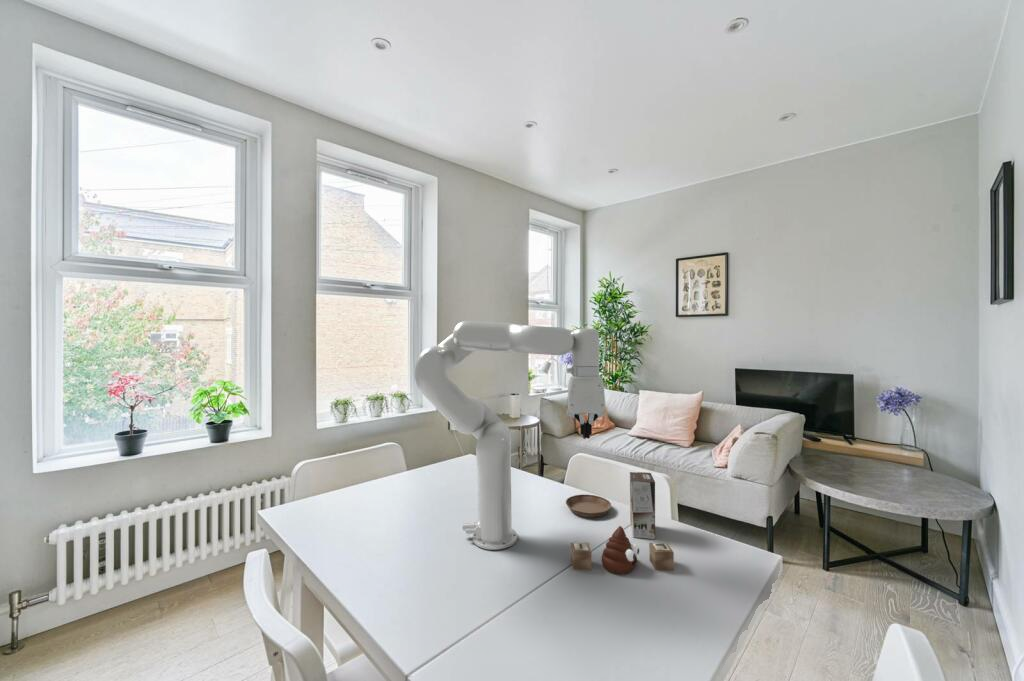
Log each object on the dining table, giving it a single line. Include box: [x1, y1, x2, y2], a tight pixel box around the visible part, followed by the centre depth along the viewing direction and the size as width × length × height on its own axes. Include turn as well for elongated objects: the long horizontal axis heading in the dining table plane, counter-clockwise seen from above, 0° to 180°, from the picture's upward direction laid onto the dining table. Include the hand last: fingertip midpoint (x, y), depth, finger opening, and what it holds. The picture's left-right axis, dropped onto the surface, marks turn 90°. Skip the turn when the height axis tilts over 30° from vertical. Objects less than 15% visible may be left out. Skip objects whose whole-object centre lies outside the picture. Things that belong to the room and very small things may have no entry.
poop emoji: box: [601, 525, 640, 575], centre depth 103 cm, size 10×8×9 cm
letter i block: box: [570, 542, 592, 571], centre depth 104 cm, size 4×4×5 cm
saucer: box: [565, 494, 612, 518], centre depth 137 cm, size 15×15×3 cm
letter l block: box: [648, 542, 675, 571], centre depth 103 cm, size 4×4×5 cm
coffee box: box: [629, 471, 656, 540], centre depth 121 cm, size 9×6×16 cm
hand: (585, 437), depth 116 cm, fingers closed
